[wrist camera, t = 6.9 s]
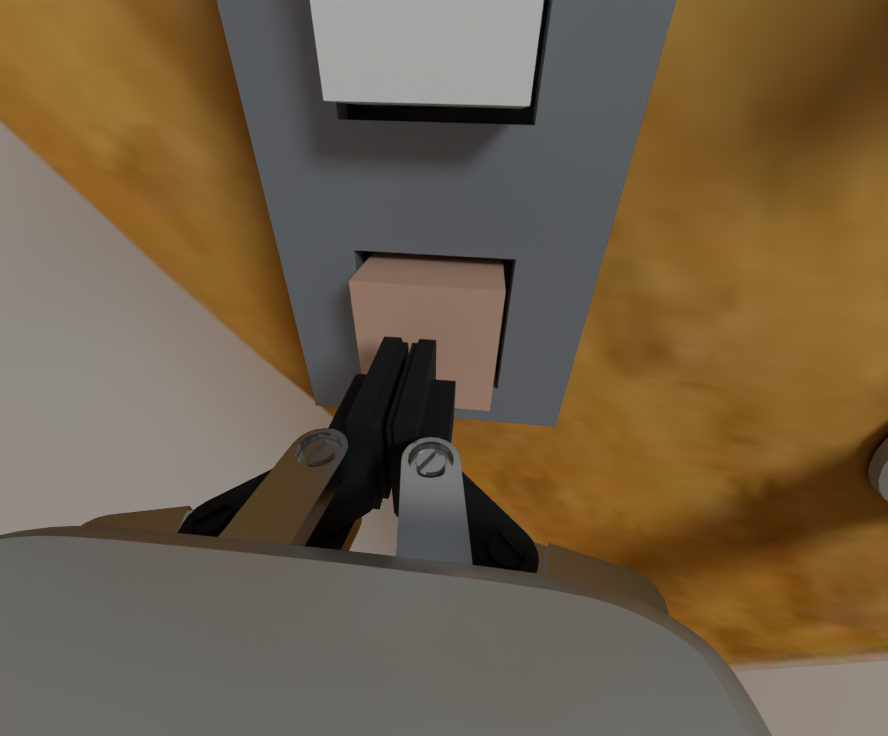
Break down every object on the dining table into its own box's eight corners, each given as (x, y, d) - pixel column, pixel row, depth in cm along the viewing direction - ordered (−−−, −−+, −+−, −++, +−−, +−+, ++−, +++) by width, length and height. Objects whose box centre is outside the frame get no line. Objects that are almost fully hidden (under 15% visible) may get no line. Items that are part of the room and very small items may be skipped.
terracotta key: (501, 245, 15) (505, 291, 11) (489, 346, 18) (489, 411, 14) (384, 239, 16) (348, 281, 12) (391, 339, 19) (365, 400, 15)
